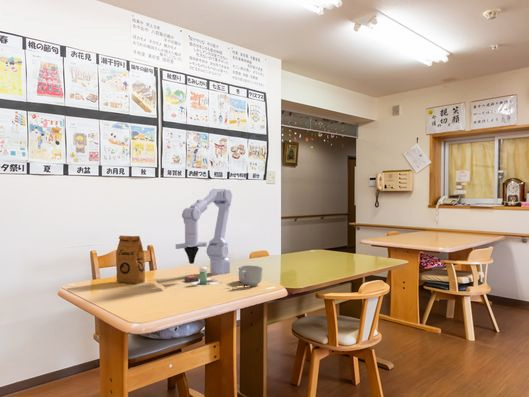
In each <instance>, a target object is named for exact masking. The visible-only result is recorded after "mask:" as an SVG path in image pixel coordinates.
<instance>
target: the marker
mask: <svg viewBox="0 0 529 397" xmlns="http://www.w3.org/2000/svg"><path fill="white" fill-rule="evenodd" d="M207 268H208V267H207V266H206V267H205V266H203V267H202V266H201V267H199V270H198V271H199V279H200V284H207V278H208V274H207V270H208V269H207Z"/></svg>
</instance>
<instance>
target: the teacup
mask: <svg viewBox="0 0 529 397" xmlns="http://www.w3.org/2000/svg"><path fill="white" fill-rule="evenodd" d="M263 269H264V268H263V267H262V266H258V265H249V264H248V265H239V266H238V280H239V282H240V283H241V284H243V286H247V287H256V286H258V285H259V284H260V283H261V281H262V277H263V276H262V275H263Z"/></svg>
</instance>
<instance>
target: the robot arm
mask: <svg viewBox="0 0 529 397" xmlns="http://www.w3.org/2000/svg"><path fill="white" fill-rule="evenodd" d="M232 197H233V194H232V191H231V190H230V188H213V189H211V190H209V194H207V195H206V196H205V197H204V198H203V199H197V200H196V202H194V203H193V204H191V205H190V206H189V207H186V208H184V209H183V211H182V213H181V217H182V219H183V223H184V243H177V244H176V243H175V249H176V250H179V249H183V250H184V251H185V253H186V255H187V260H188V262H189V264H194V263H195V259H196V256H197V253H198V252H199V249H200V248H204V247H207V248H206V255H207V256H208V258H209V262H210V265H209V266H210V267H209V269H210V270H209V271H210V272H209V273H210V275H214V276H215V275H216V276H217V275H218V276H219V275H226V274H230V273H231V269H230V268H231V265H230V264H231V262H230V259H229V257H227V256H228V254H229V244H228V242H227V241H226V240H225V236H226V231H227V226H228V225H227V224H228V219H229V212H230V206H231V203H232ZM212 203H213V204H214V205H215V206H216V207H217V208H218V211H217V218H216V223H215V227H214V228H215V229H214V234H213V238H211V240H209V242H206V241H203V242H202V241H201V242H199V241H198V232H199V231H198V226H199V225H198V220H199V219H200V218H201V215H202V214H203V213H204V212H205V211H206V210H207V209H208V206H209V205H211V204H212ZM207 244H208V245H207ZM199 247H200V248H199Z"/></svg>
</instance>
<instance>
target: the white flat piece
mask: <svg viewBox="0 0 529 397" xmlns="http://www.w3.org/2000/svg"><path fill="white" fill-rule="evenodd" d="M195 277H196V278H192V279H188V278H187V276H185V277H184V282H186V283H188V284H192V285H193V286H195V287H202V286H203V287H204V286H212V285H218V284H223V282H222V281H219V280H217V279H215V278H212V277H210V276H209V277H208V276H207V284H200V277H197V276H195Z"/></svg>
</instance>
